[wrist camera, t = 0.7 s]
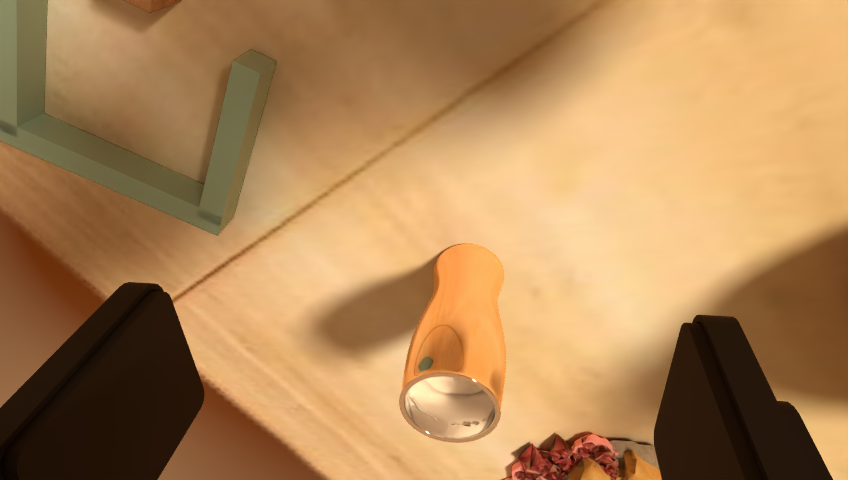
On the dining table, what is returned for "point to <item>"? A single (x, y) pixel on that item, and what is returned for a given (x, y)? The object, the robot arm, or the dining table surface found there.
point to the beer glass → (458, 350)
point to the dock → (114, 166)
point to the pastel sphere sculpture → (588, 461)
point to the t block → (152, 4)
